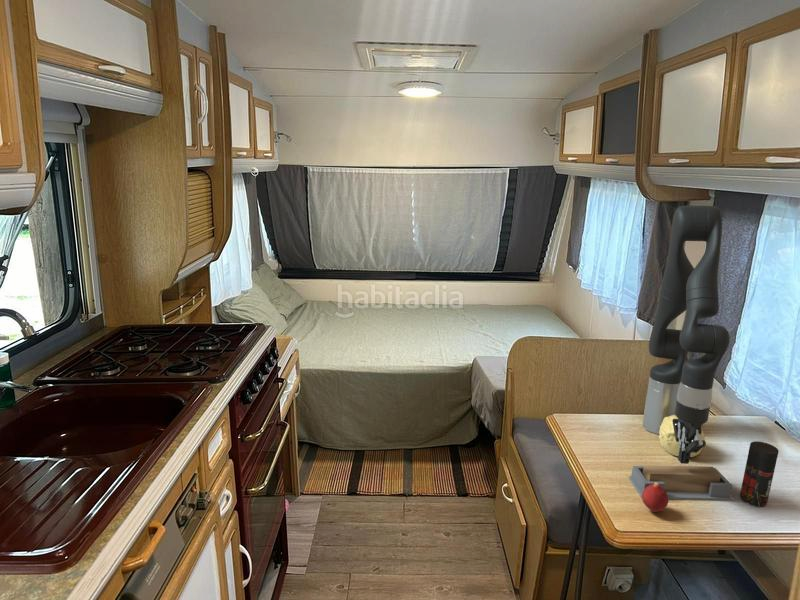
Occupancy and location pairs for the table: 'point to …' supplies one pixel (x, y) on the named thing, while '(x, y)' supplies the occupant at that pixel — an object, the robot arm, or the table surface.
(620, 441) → the table surface
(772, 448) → the deodorant
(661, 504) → the onion
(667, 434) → the sculpture
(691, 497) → the endcaps
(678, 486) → the slat
